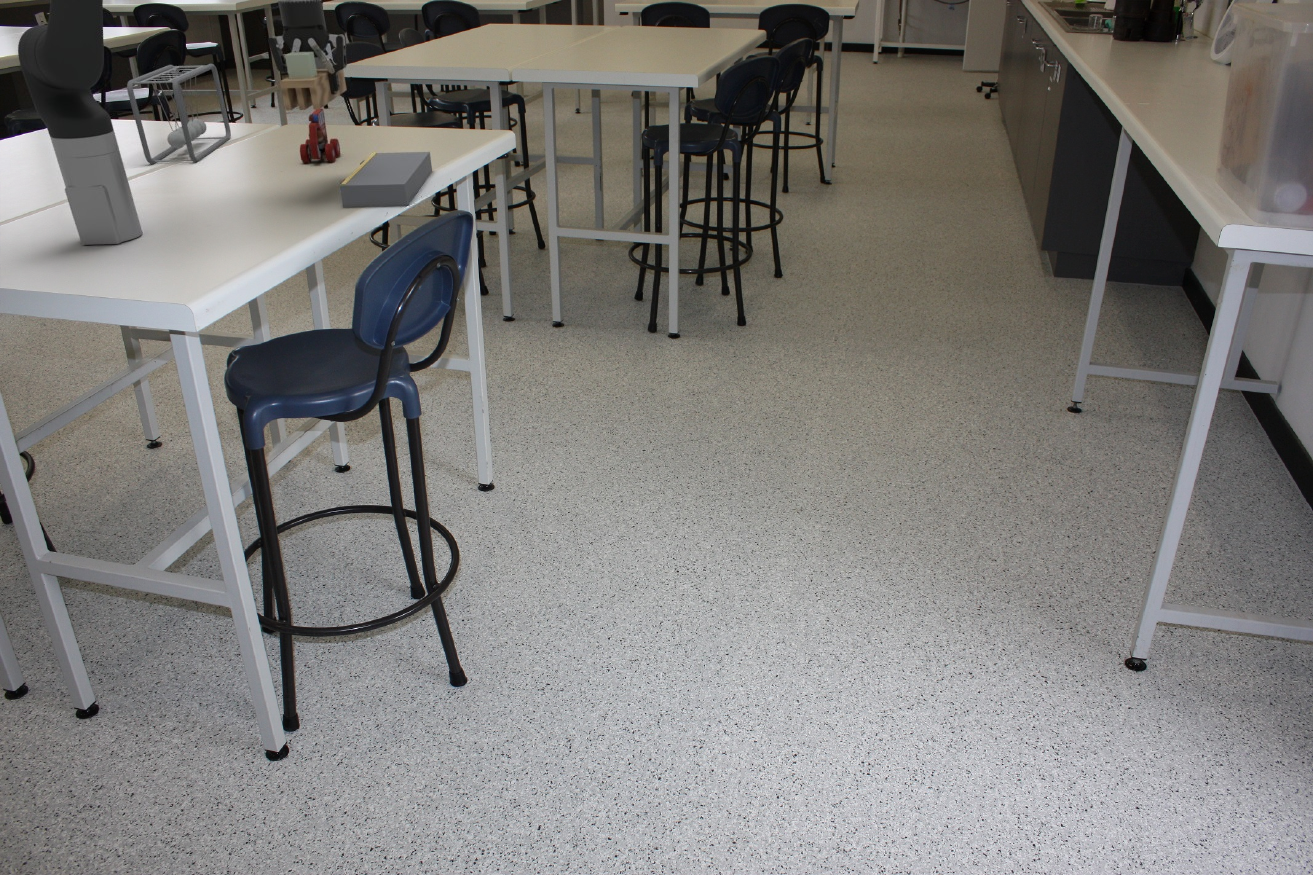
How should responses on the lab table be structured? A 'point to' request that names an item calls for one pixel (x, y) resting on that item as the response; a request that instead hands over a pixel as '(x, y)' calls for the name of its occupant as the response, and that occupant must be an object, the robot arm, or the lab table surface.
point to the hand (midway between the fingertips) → (317, 94)
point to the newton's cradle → (180, 113)
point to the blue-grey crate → (318, 63)
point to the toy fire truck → (319, 140)
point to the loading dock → (386, 179)
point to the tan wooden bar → (310, 90)
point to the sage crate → (301, 65)
